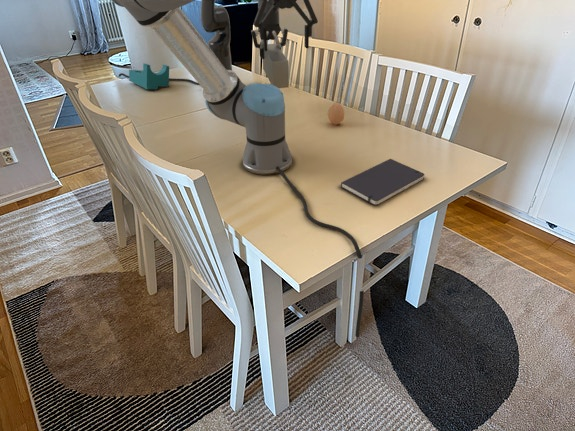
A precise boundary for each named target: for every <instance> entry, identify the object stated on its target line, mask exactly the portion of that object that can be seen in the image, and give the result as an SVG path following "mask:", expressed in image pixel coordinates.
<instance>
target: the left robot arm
mask: <svg viewBox="0 0 575 431" xmlns="http://www.w3.org/2000/svg"><path fill="white" fill-rule="evenodd" d="M261 2H262V0H257V11H258V10H259V7H260V5H261ZM273 3H274V1H273V0H269V1H267V4H266V7H265V9H264V12H263V14H262V17H261V20H260V22H259V23H261V21H262V20H263V19H264V17H265V16H266V14H267V13H268V11H269V10H270V8H271V7H272V5H273ZM200 23H201V26H202V27H201V28H202V29H203V31H204V32H205V33H208V34H212V33H215V34H214V36H213V37H212V38H211V39H209V40H208V43H207V45H208V46H209V47H210V49H211V50H212V51H213V53H214V54H215V55H216V57H217V58H218V59H219V61H220V62H221V63H222V65H223V66H224V68H225V69H226V70H232V71H233V66H232V54H231V46H230V44H231V23H230V16H229V13H228V11H227V9H226V8H225V7H224V6H216V0H201V2H200ZM264 28H266V31H267V41H270V40H271V41H274V42H275V44H276V45H277V46H278V47H279V49H280V50H281V51H282V48H283V47H285V46H286V45H287V39H288V34H289V33H288V32H289V29H287V28H286V27H281V26H280V8H279V7H278V9H277V10H276V11H275V13H274V14H273V15H272V17H271V18H270V20H269V21H268V23H267V24H266V26H265V27H264ZM280 32H281V35H282V37H281V42H280V39H279V38H278V36H279V34H280ZM250 33H251V37H252V42H253V45H254V48H256V49H259V50H258V51H259V58H261V59H262V60H263V59H264V49H263V46H264V41H263V40H261V39H260V41H259V43H258V38H257V37H258V35H259V34H260V29H259V28H258V27H257V28H256V29H251V30H250ZM122 76H123V77H125V78H127V79H129V75H127V74H125V73H122V72H121V73H119V74H118V77H119V78H120V77H122ZM171 81H172V82H189V83H192V84H194V85H197V86H200V84H199V83H198V82H197V81H194V80H192V79H189V78H170V77H169V82H171Z"/></svg>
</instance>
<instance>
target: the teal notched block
mask: <svg viewBox="0 0 575 431" xmlns="http://www.w3.org/2000/svg"><path fill="white" fill-rule="evenodd" d="M128 76H129V78H130V79H129V78H128V81H129V82H131V83H132V84H135V85H138V86H139V87H141V88H142V89H143V88H144V89H145V90H158V89H159V87H167V88H169V85H170V81H169V78H170V66H169V65H168V64H162V67H161V70H159V71H158V72H155V71H152V68H151V65H150V64H148V63H143V64H142V69H141V70H140V69H128Z"/></svg>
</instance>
